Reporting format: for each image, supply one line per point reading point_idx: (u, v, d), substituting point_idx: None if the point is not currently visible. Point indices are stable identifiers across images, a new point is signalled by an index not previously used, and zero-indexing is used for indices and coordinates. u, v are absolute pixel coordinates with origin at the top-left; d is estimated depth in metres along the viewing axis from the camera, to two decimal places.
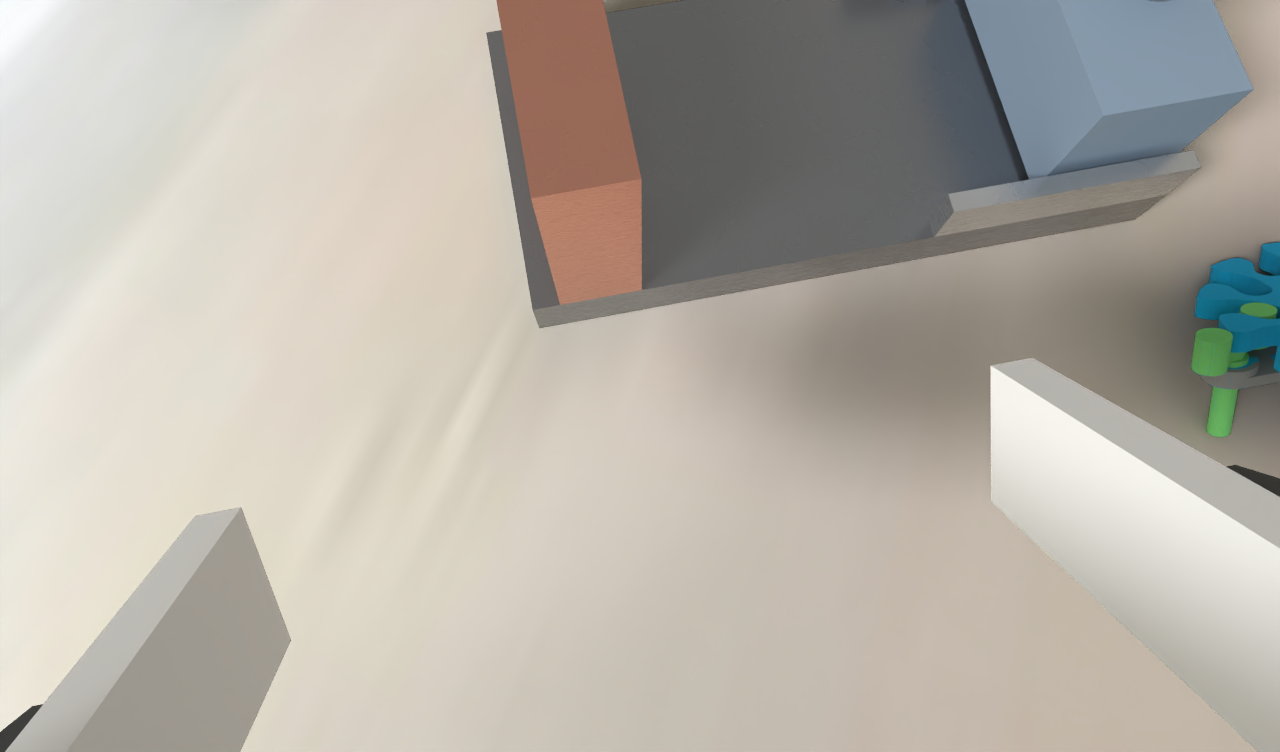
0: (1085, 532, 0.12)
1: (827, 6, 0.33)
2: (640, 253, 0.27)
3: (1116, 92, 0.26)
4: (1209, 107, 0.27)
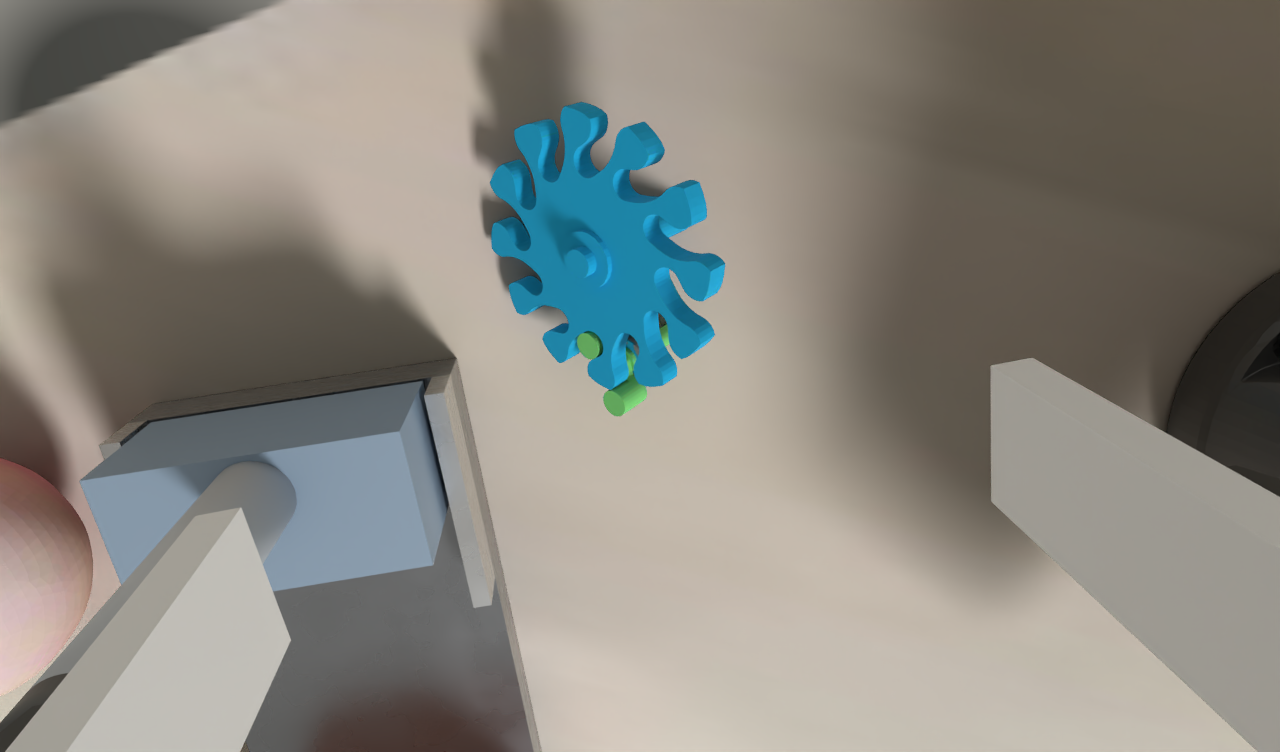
0: (1085, 532, 0.12)
1: None
2: None
3: (407, 551, 0.27)
4: (410, 450, 0.27)
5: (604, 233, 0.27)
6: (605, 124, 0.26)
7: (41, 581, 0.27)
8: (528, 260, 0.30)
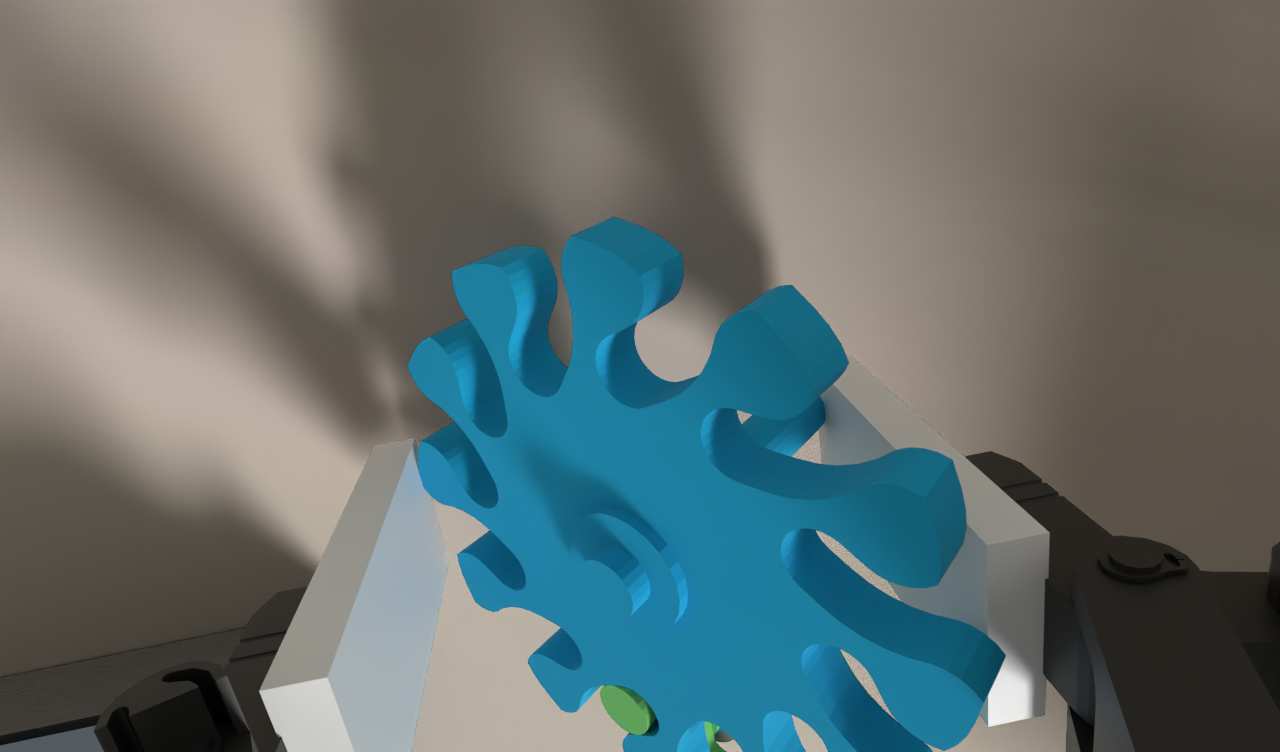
0: None
1: None
2: None
3: None
4: None
5: (671, 530, 0.11)
6: (678, 279, 0.10)
7: None
8: (494, 526, 0.14)
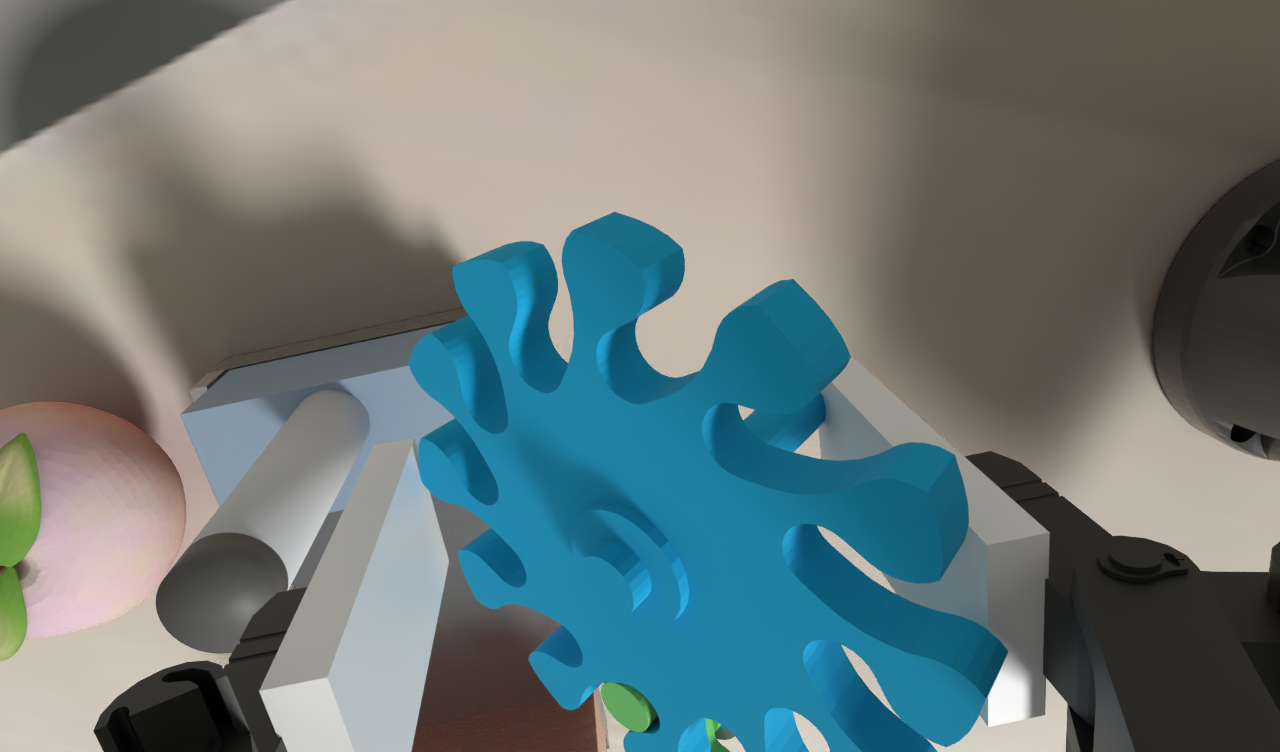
0: None
1: None
2: (596, 736, 0.38)
3: None
4: None
5: (672, 526, 0.11)
6: (679, 274, 0.10)
7: (148, 510, 0.31)
8: (495, 523, 0.14)
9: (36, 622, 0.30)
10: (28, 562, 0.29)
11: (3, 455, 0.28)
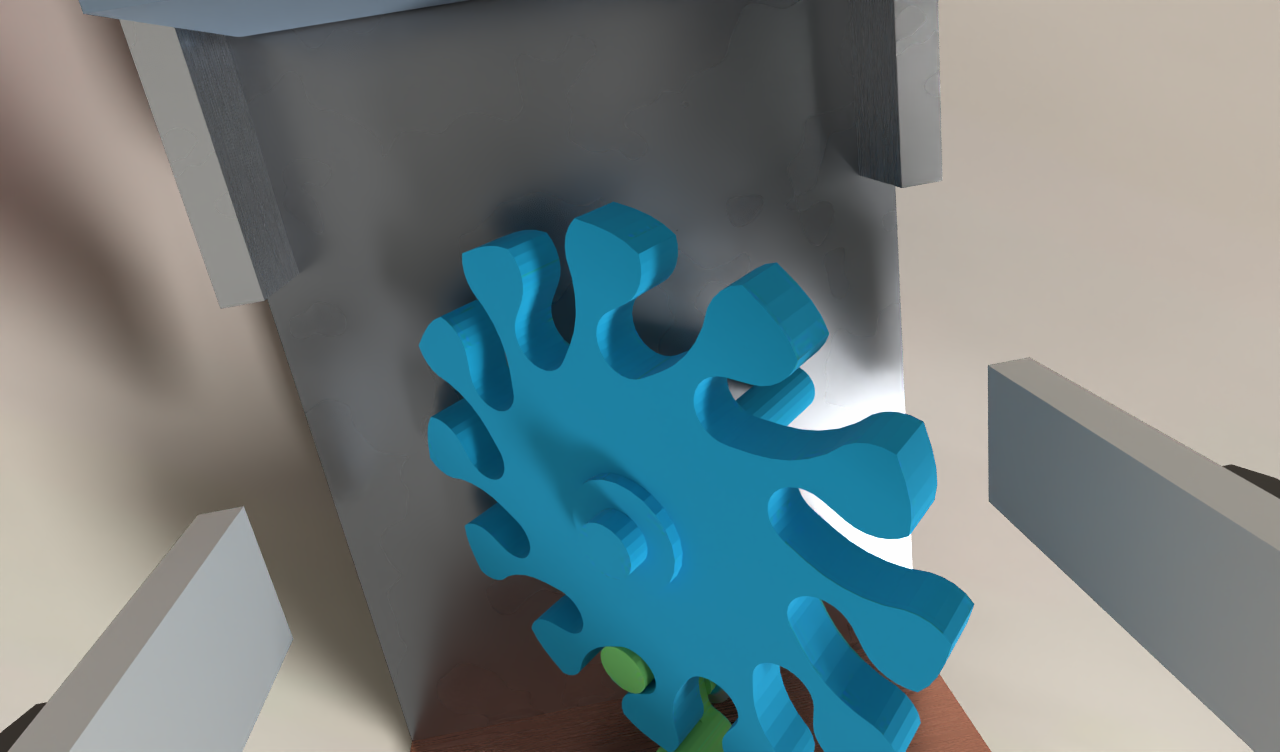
0: (1082, 532, 0.12)
1: (357, 335, 0.15)
2: (982, 741, 0.16)
3: None
4: None
5: (667, 494, 0.12)
6: (672, 258, 0.11)
7: None
8: (500, 497, 0.15)
9: None
10: None
11: None
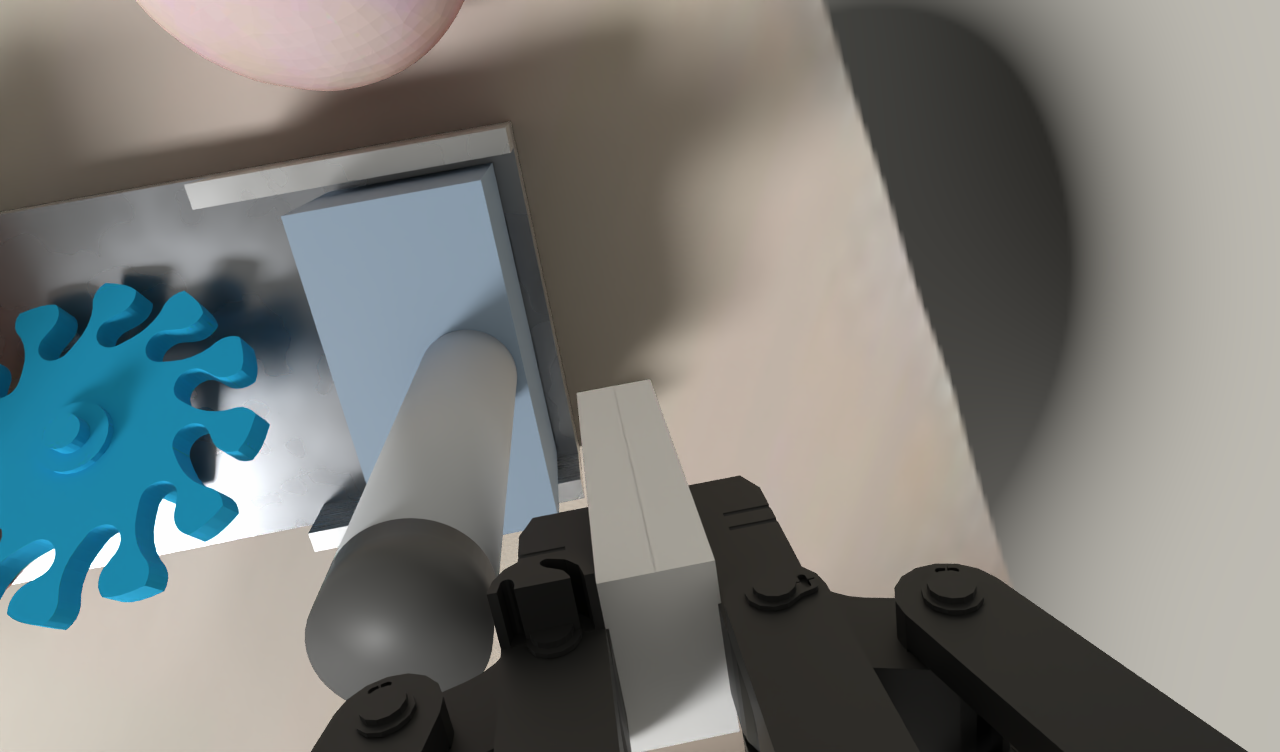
0: None
1: (182, 231, 0.25)
2: None
3: None
4: None
5: (105, 464, 0.22)
6: (240, 459, 0.23)
7: (337, 79, 0.20)
8: (84, 341, 0.24)
9: None
10: None
11: None
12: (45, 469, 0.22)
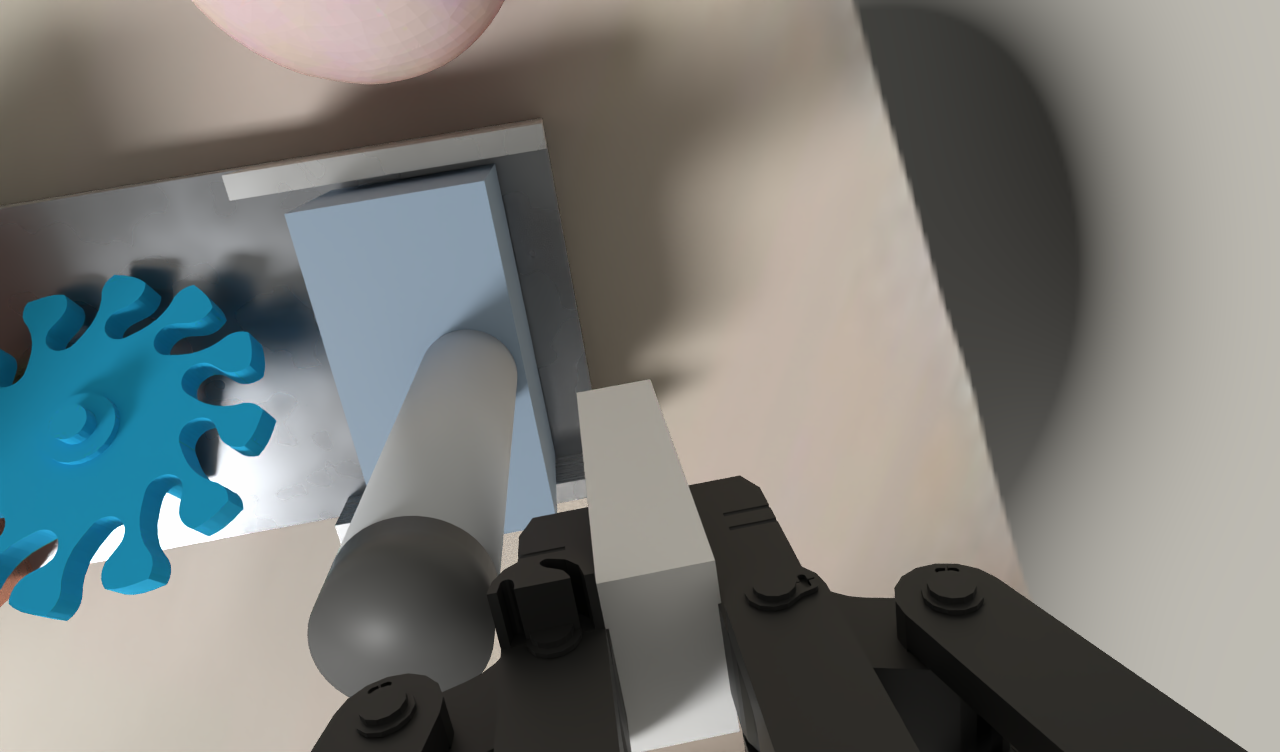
0: None
1: (216, 222, 0.25)
2: None
3: None
4: None
5: (110, 456, 0.22)
6: (246, 455, 0.23)
7: (382, 72, 0.20)
8: (91, 332, 0.24)
9: None
10: None
11: None
12: (50, 459, 0.22)
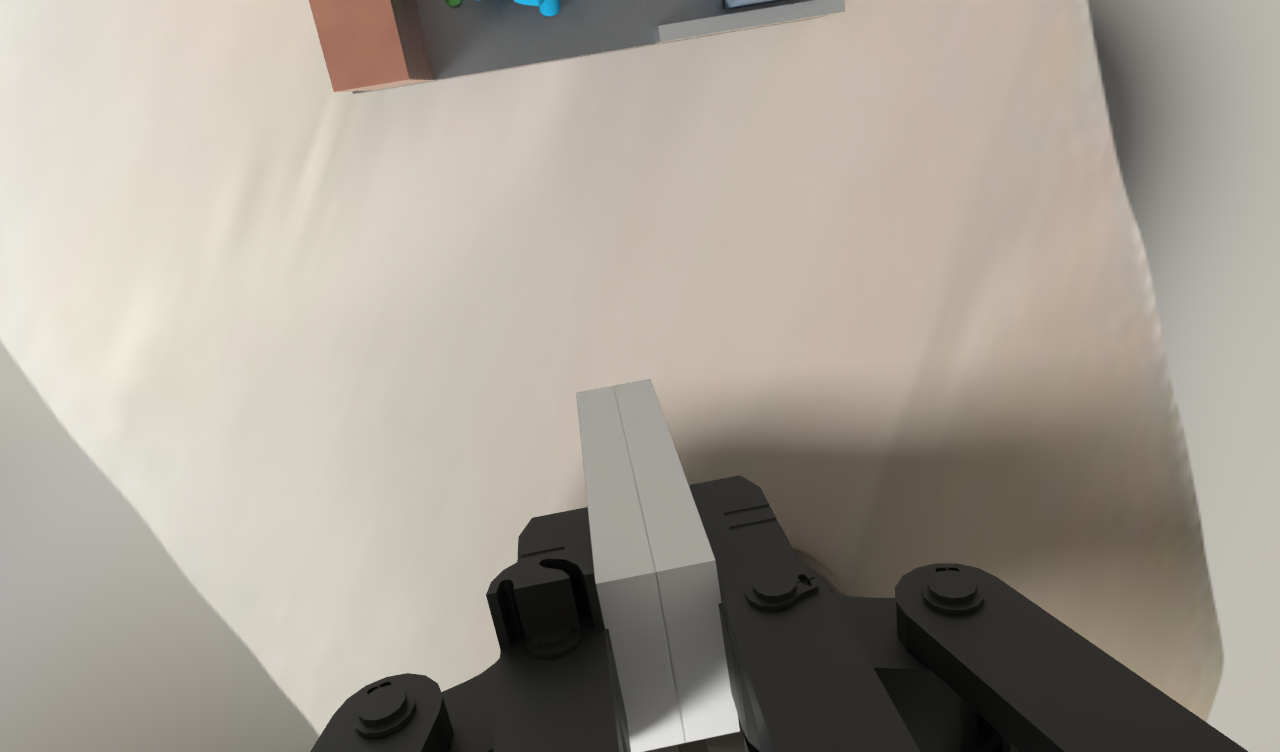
0: None
1: None
2: (424, 79, 0.37)
3: None
4: None
5: None
6: None
7: None
8: None
9: None
10: None
11: None
12: None
